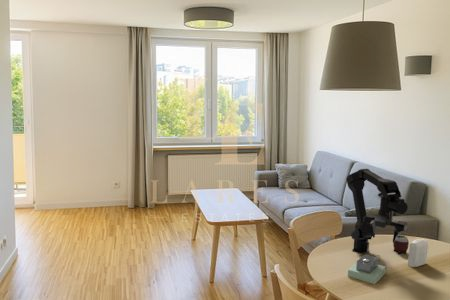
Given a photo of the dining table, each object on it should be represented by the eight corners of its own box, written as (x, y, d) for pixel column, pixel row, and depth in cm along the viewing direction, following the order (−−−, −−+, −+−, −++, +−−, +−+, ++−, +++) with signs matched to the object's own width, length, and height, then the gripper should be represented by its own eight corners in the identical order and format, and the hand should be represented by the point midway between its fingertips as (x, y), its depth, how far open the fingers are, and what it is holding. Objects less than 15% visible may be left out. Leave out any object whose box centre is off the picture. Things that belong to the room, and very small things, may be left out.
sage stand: (347, 276, 192) (348, 269, 191) (358, 265, 203) (359, 259, 202) (375, 284, 185) (375, 277, 184) (385, 272, 196) (385, 266, 195)
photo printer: (419, 260, 210) (421, 236, 208) (427, 263, 207) (430, 238, 205) (406, 265, 205) (408, 240, 203) (414, 268, 201) (417, 242, 199)
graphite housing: (364, 262, 199) (365, 252, 198) (378, 266, 195) (378, 256, 195) (356, 269, 191) (356, 259, 191) (369, 273, 188) (370, 263, 187)
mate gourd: (406, 256, 216) (408, 226, 213) (389, 252, 220) (391, 223, 217) (408, 251, 222) (411, 222, 220) (392, 247, 226) (394, 219, 224)
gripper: (360, 207, 201) (357, 239, 204) (401, 216, 190) (398, 250, 192) (369, 202, 210) (366, 233, 212) (409, 210, 198) (406, 243, 201)
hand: (383, 239), depth 204 cm, fingers open, 9 cm apart
